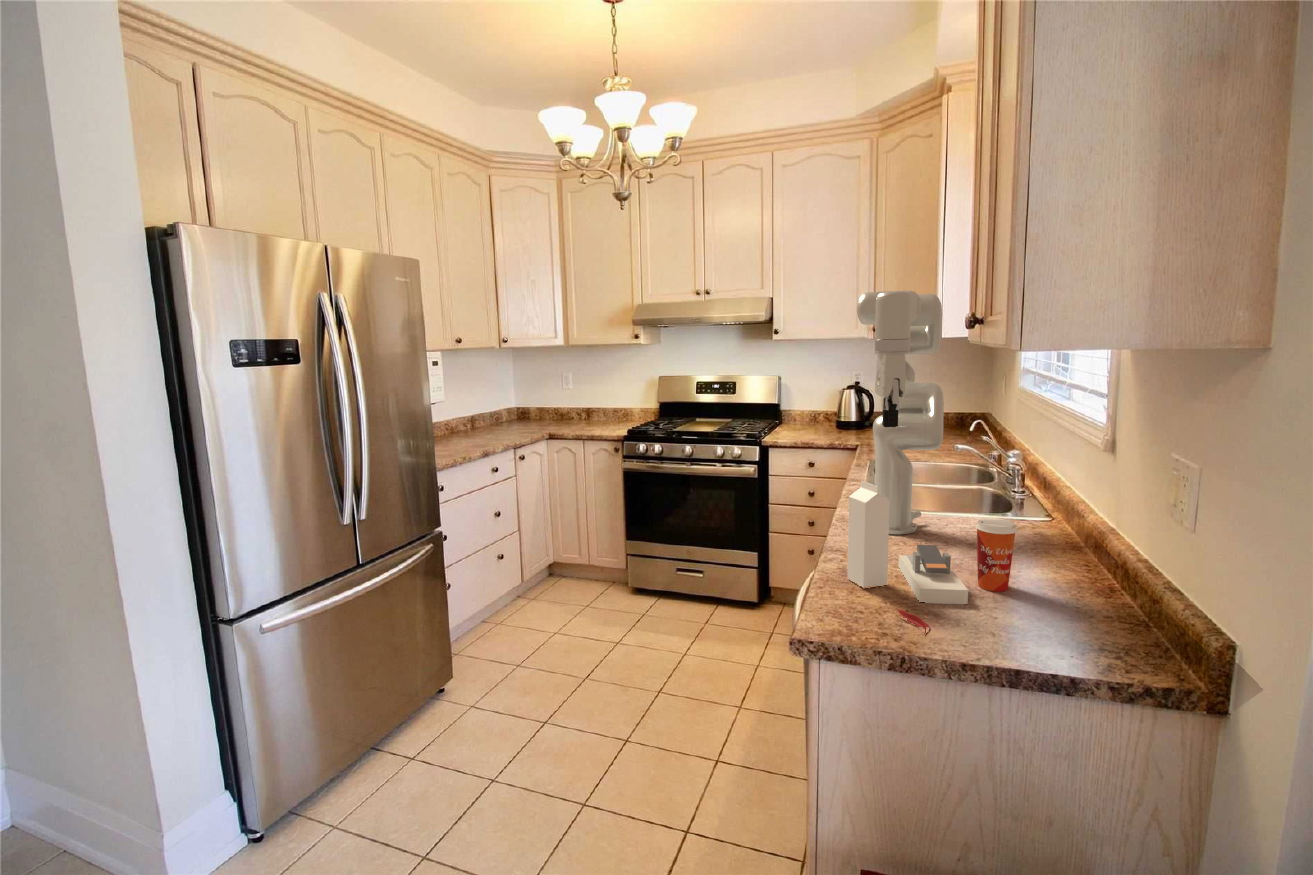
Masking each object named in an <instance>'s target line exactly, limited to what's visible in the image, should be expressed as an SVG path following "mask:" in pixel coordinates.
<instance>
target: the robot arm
mask: <svg viewBox="0 0 1313 875" xmlns="http://www.w3.org/2000/svg"><path fill="white" fill-rule="evenodd" d="M856 305H857V306H856V314H857V318H858V321H859V322H860V323H861V324H862V325H867V326H868V325H869V326H870V325H871V326H872V325H873V326H874V329H875V330H874V355H876V358H877V359H876V366H875V367H876V368H875V383H874V393H875V394H876V395H877V396H879V397H880V406H881V409H882V414H881V415H879V416H878V417H875V419H874V421H873V423H872V436H873V437H872V438H873V444H874V456H875V457H874V458H875V460H874V461H875V466H874V468H875V469H874V485H876V486H878V493H879V494H880V495H882V496H884V497H886V498H887V499H889V500H890V507H889V535H909V534H913V533H916V531H917V528H918V525H917V524H916V523H914V522H913V520H915V519H917V518H921V517H922V512H921V511H920V510H914V511H913V510H912V501H913V500H912V494H913V493H912V492H913V464H912V462H911V460H910V458H909V457H908V456H907V455H906V453H904V452H903V451H905V450H906V451H910V450H911V451H912V450H914V451H935V450H937V449H939V448H940V447H941V446H942V444H943V439H944V415H945V414H944V409H945V408H944V393H943V389H942V388H941V386H940V385H939V384H937V383H934V382H917V381H916V380H915V379H916V371H915V370H914V368H913V366H912V365H910V363H909V362H908V361H906V355H930V354H931V355H932V354H935V353H936V352H938V351H939V349H940V347H941V343H942V329H943V328H942V326H943V325H942V324H943V307H942V306H943V305H942V303H941V300H940V298H939V297H938V296H937V295H936V294H934V293H917V292H915V291H913V290H884V291H869V292H863V293H861V295H860V296H859V298H858V300H857V304H856Z"/></svg>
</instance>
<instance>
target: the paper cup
mask: <svg viewBox="0 0 1313 875" xmlns="http://www.w3.org/2000/svg"><path fill="white" fill-rule="evenodd" d="M974 527H975V529H976V533H977V534H976V538H977V539H976V541H977V542H976V543H977V544H976V545H977V546H976V556H977V557H976V558H977V585H978V587H979V588H980V589H982V590H984V591H988V592H995V593H1002V592H1007V590H1008V589H1009V583H1010V577H1011V571H1012V570H1011V569H1012V560H1013V552H1014V546H1015V537H1016V533H1017V532H1018V529H1017V526H1016V524H1015V522H1013V521H1010V520H1007V519H1003V518H999V517H998V518H996V517H985V518H980V519H978V521H977V524H976V525H975V526H974Z"/></svg>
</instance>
